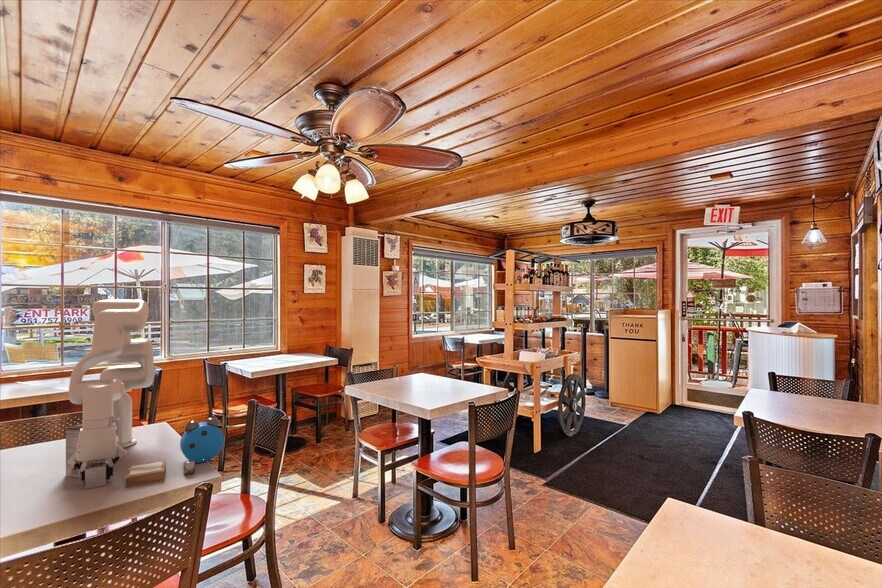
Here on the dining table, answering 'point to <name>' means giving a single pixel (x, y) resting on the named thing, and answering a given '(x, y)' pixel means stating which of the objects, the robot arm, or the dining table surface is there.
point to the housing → (96, 474)
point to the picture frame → (145, 474)
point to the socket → (189, 467)
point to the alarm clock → (202, 440)
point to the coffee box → (73, 449)
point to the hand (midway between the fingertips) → (97, 479)
